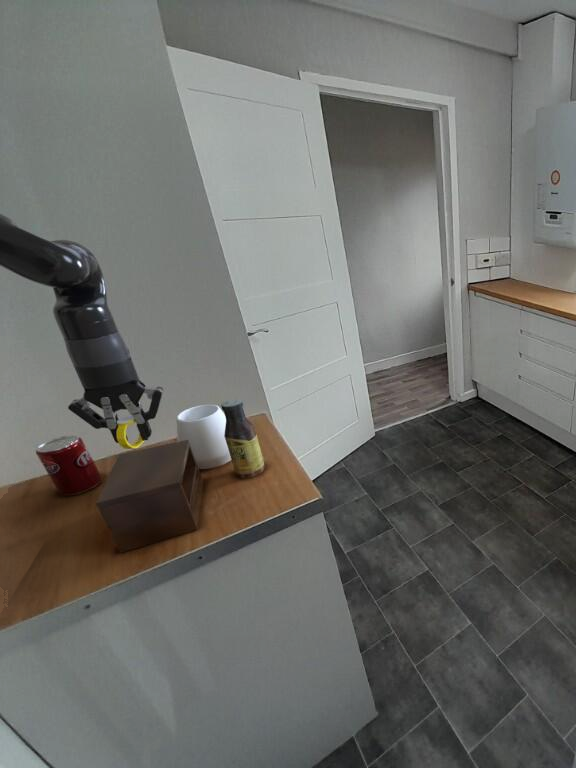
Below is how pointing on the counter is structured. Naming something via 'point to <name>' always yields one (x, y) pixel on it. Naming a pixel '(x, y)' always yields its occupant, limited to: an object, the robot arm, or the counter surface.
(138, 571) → the counter surface
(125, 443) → the watch
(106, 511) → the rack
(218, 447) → the cup
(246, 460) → the sauce bottle
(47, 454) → the soda can
